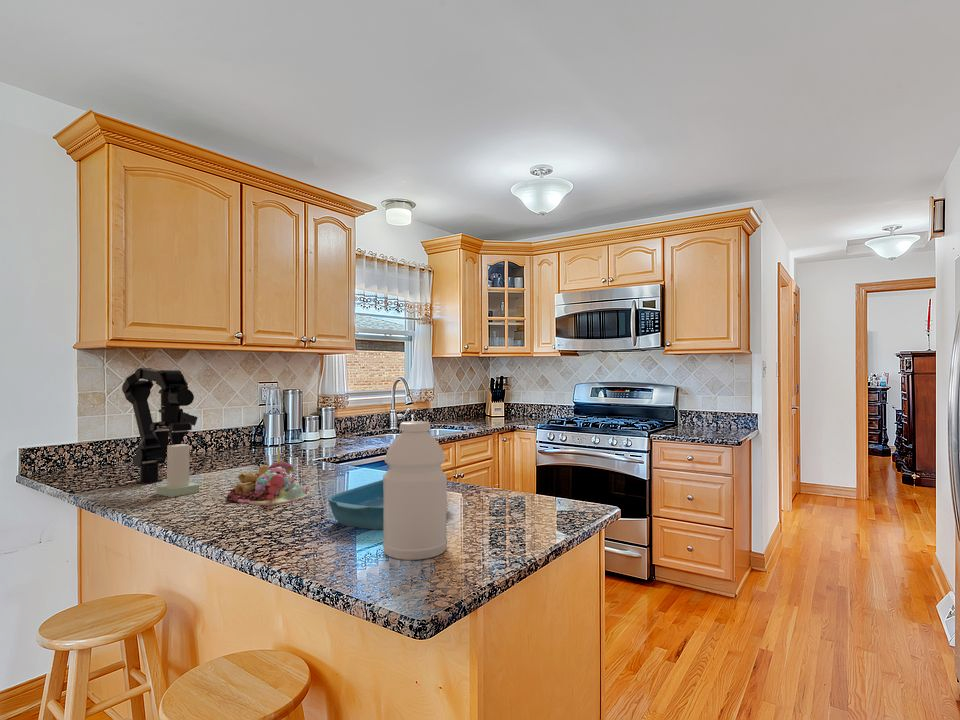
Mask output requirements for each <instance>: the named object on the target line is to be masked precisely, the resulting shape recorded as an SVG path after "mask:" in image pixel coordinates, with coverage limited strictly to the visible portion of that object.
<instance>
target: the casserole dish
mask: <svg viewBox="0 0 960 720" xmlns="http://www.w3.org/2000/svg"><path fill="white" fill-rule="evenodd" d="M327 500H328V503H329V506H330V507H329V508H330V509H331V512H332V514H333V517H334V519H335V520H336V522H338V523H339V524H341V525H343V526H347V527H354V528H360V529H362V528H363V529H366V530H380V531H381V530H382V531H383V479H380V480H377V481H373V482H370V483H366V484H364V485H361V486H358V487H354V488H351V489H348V490H344V491H341V492H337V493H336V494H332V495H331V496H330V497H328V499H327Z"/></svg>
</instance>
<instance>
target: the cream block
mask: <svg viewBox="0 0 960 720" xmlns="http://www.w3.org/2000/svg"><path fill="white" fill-rule="evenodd" d="M190 449H191V448H190V444H186V443H181V444H177V445H172V444H168V445H167V454H166V457H167V458H166V485H167V486H170V487H172V488H173V487H180V486H187V485H189V482H190V457H191V456H190Z"/></svg>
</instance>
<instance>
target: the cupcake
mask: <svg viewBox="0 0 960 720" xmlns="http://www.w3.org/2000/svg"><path fill="white" fill-rule="evenodd" d="M277 450H278V451H277V458H278V461H277V462H274V463H273V464H271V465H270V466H268V470H270V468H276V467H282V469H283V468H284V469H285V470H286V473H287V474H288V475H289V472H290V471H291V474H293V473H292V472H294V466H293V465H292V464H291V463H290V462H286V461H281V451H280V449H279V448H278V449H277Z"/></svg>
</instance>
